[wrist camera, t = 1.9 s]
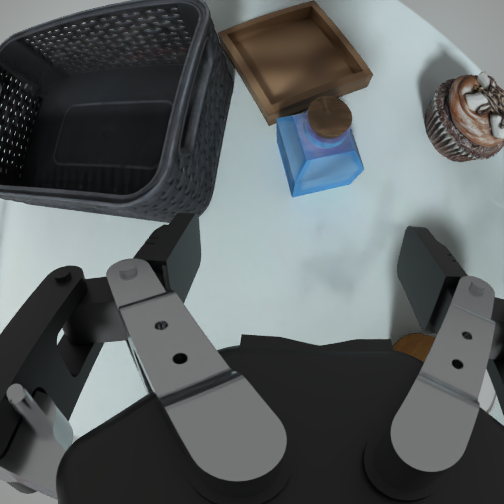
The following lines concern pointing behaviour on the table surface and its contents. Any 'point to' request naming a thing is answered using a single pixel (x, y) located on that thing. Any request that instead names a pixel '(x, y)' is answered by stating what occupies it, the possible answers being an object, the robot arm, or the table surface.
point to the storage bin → (115, 111)
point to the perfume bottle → (319, 147)
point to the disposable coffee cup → (419, 349)
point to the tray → (293, 59)
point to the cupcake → (467, 118)
